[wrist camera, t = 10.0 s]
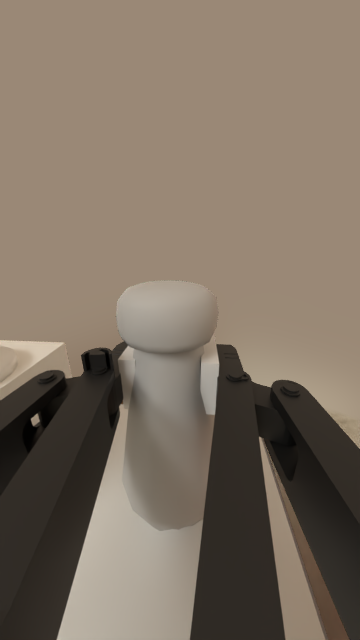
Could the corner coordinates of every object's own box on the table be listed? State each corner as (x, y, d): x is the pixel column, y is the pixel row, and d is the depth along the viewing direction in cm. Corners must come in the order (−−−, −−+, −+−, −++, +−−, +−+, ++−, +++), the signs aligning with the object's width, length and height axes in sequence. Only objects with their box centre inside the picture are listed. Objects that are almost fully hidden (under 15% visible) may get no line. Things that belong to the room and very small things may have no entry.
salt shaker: (196, 438, 16) (201, 272, 12) (240, 523, 11) (274, 291, 7) (121, 464, 15) (94, 278, 10) (133, 579, 10) (90, 309, 5)
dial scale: (-243, 698, 8) (-581, 539, 5) (35, 413, 22) (6, 319, 19) (376, 840, 6) (646, 757, 3) (254, 429, 20) (269, 325, 17)
